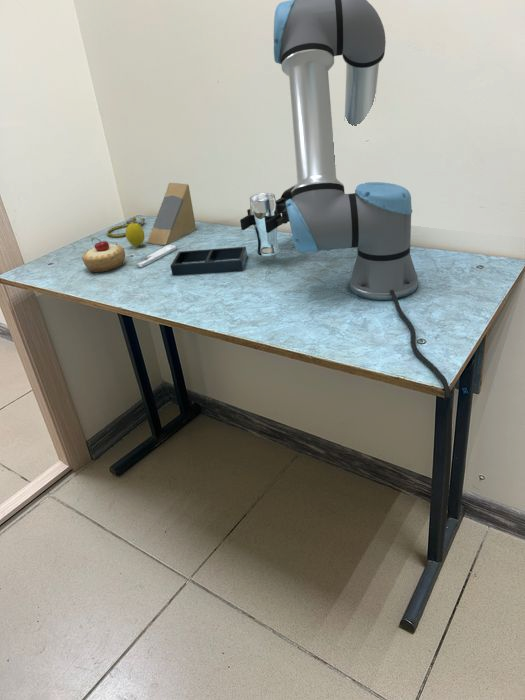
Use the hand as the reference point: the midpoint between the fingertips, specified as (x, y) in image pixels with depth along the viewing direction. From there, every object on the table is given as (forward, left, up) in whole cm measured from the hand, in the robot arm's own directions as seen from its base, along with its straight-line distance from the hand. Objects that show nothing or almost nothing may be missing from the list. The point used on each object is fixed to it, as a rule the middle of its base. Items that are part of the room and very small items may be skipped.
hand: (254, 226), depth 138 cm
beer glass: (+5, -2, -9) cm, 10 cm away
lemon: (+25, +41, -12) cm, 50 cm away
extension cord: (+43, +50, -12) cm, 67 cm away
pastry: (+10, +46, -12) cm, 49 cm away
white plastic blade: (+15, +33, -12) cm, 38 cm away
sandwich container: (+33, +32, -12) cm, 48 cm away
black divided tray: (+5, +14, -12) cm, 19 cm away
